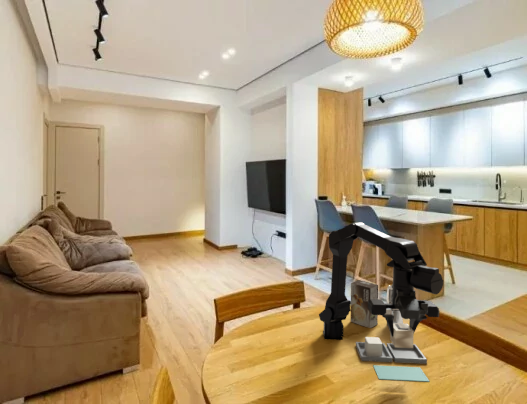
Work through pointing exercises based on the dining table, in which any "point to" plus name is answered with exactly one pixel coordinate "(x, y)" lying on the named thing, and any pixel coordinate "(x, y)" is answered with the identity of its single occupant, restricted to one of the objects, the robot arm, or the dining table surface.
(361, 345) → the tray
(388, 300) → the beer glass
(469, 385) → the dining table surface
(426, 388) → the dining table surface
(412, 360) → the tray
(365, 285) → the coffee box
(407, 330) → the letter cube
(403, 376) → the teal mat
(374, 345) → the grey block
